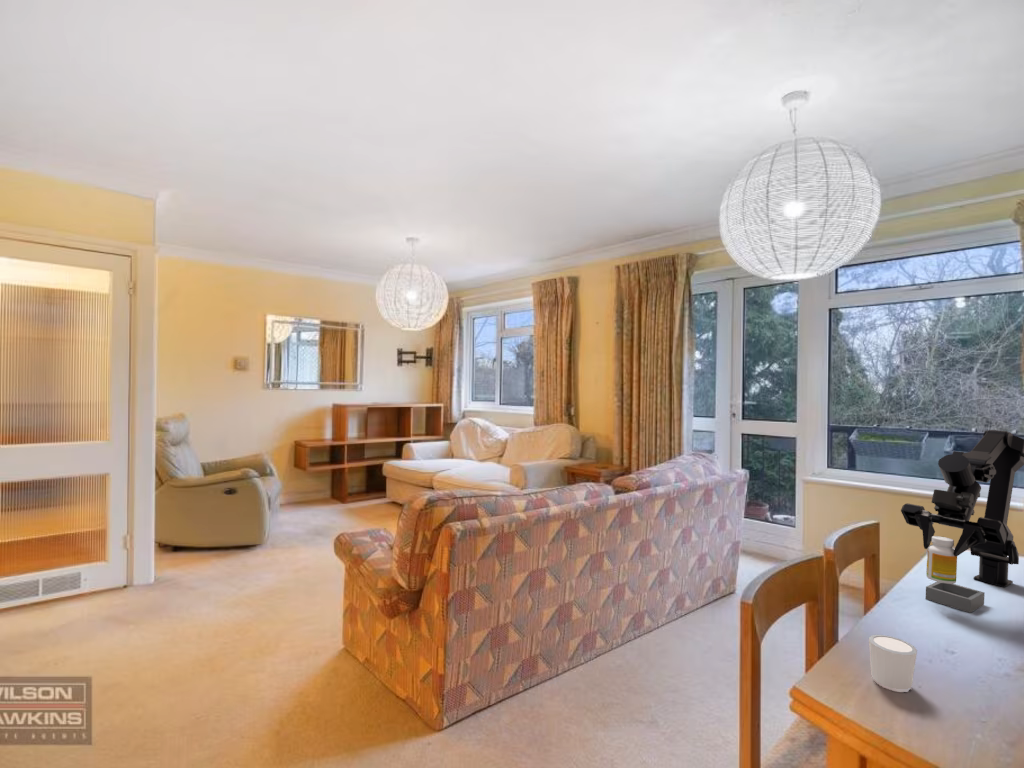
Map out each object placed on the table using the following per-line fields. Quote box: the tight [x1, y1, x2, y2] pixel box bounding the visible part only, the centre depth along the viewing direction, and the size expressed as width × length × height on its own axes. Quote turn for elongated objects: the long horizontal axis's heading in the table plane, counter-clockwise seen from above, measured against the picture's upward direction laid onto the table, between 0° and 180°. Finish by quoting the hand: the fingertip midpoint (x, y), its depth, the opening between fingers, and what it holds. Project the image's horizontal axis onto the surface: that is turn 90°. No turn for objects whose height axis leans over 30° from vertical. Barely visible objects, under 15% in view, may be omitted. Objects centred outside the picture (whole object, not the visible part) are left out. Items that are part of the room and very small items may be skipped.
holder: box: [925, 581, 985, 614], centre depth 126 cm, size 9×9×3 cm
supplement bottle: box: [926, 535, 958, 584], centre depth 121 cm, size 5×5×10 cm
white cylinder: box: [868, 634, 918, 689], centre depth 91 cm, size 7×7×7 cm
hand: (939, 551), depth 121 cm, fingers closed on supplement bottle, 5 cm apart
